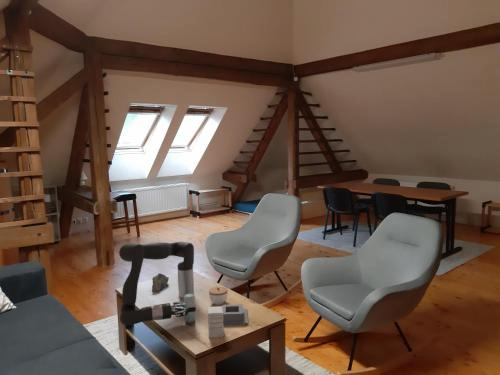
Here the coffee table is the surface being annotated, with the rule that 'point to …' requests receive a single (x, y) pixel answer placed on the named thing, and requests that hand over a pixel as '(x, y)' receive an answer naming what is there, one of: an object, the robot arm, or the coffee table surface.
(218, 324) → the supplement box
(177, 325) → the coffee table surface
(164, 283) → the mineral rock
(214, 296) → the lidded jar
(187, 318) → the peg
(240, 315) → the socket block
